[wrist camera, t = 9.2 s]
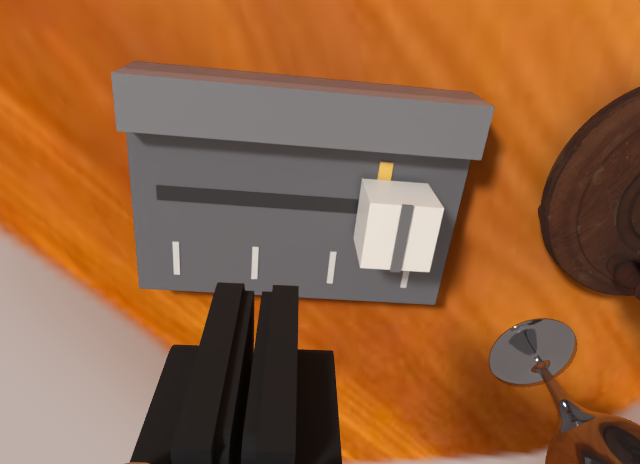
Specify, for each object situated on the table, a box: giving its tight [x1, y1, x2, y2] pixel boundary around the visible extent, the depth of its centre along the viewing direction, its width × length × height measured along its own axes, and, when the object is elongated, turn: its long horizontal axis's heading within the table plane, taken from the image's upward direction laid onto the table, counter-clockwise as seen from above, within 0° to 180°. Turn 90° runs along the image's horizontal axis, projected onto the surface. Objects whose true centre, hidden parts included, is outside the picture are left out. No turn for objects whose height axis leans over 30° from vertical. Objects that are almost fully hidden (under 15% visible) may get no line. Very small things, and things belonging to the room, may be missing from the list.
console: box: [111, 61, 495, 305], centre depth 30 cm, size 20×14×4 cm
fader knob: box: [354, 179, 444, 272], centre depth 28 cm, size 4×4×4 cm
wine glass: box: [489, 318, 640, 464], centre depth 33 cm, size 8×8×15 cm
